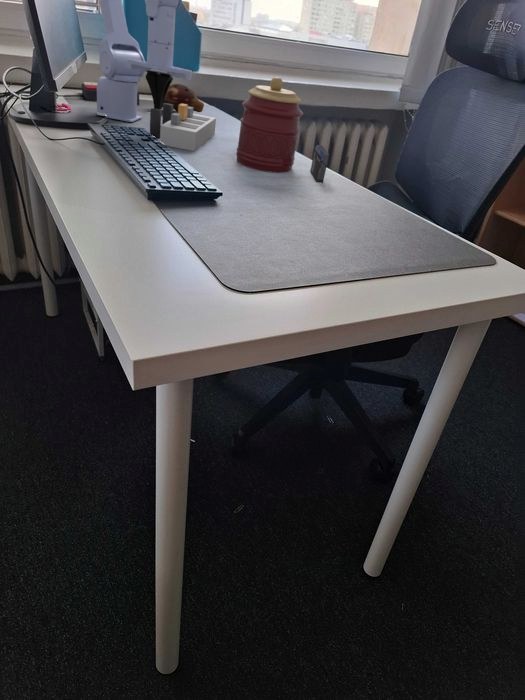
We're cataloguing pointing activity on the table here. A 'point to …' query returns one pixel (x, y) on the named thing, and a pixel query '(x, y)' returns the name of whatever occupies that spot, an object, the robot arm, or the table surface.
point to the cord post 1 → (155, 122)
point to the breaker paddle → (183, 111)
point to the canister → (269, 128)
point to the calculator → (94, 91)
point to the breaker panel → (187, 130)
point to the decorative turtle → (182, 97)
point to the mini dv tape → (319, 163)
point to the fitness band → (63, 106)
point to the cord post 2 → (167, 112)
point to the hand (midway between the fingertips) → (158, 108)
